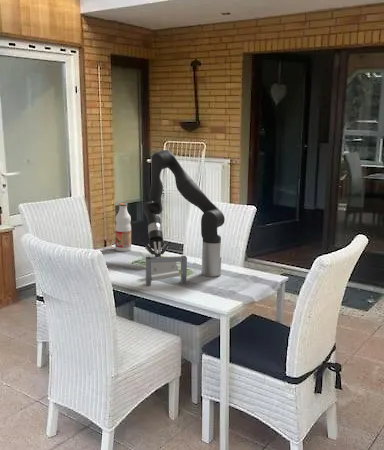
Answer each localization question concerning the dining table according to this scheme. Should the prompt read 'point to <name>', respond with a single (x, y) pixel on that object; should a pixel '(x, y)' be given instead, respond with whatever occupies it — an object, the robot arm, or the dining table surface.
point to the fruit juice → (123, 229)
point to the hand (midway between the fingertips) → (158, 260)
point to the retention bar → (166, 259)
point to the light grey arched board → (164, 270)
